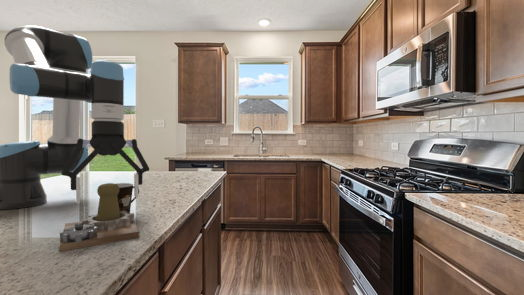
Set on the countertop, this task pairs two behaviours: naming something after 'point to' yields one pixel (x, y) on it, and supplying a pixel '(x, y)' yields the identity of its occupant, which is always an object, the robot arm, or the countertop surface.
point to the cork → (108, 202)
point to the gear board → (105, 231)
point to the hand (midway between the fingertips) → (108, 199)
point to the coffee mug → (125, 196)
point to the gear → (78, 233)
